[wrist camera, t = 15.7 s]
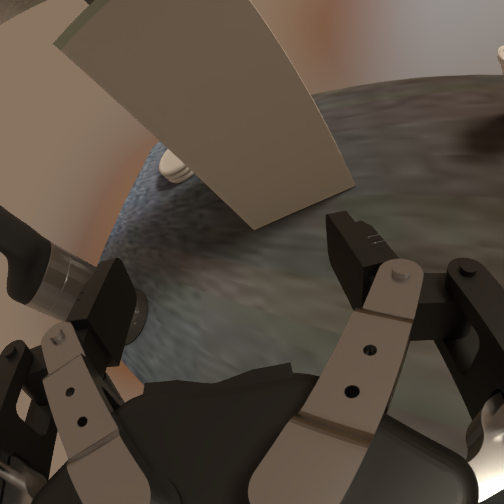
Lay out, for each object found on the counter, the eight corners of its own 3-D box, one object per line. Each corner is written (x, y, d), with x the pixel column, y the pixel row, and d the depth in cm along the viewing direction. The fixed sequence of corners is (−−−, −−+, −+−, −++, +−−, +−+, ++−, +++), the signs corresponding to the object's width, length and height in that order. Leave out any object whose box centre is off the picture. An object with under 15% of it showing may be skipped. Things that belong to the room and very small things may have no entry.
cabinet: (355, 185, 35) (181, -81, 11) (253, 230, 41) (44, 36, 16) (321, 114, 44) (195, -68, 20) (243, 153, 49) (101, 0, 25)
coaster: (161, 184, 60) (149, 174, 57) (185, 145, 62) (175, 135, 59) (192, 185, 53) (179, 173, 51) (218, 141, 56) (207, 129, 53)
